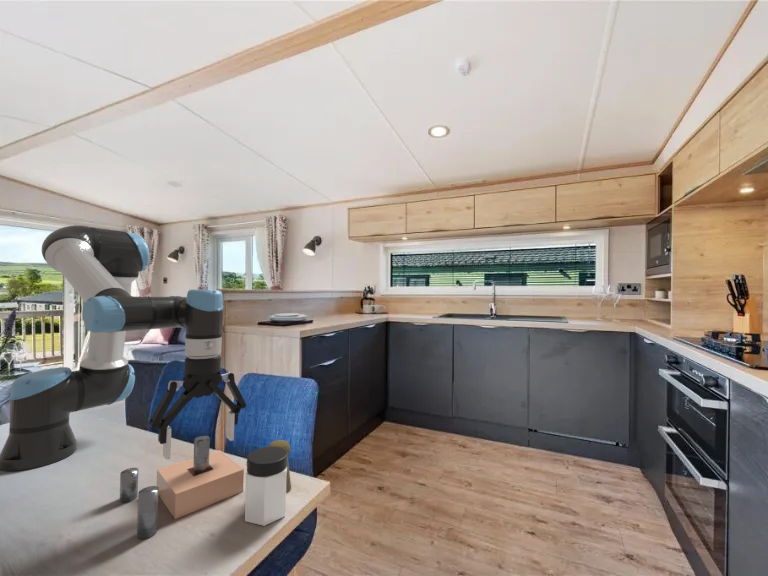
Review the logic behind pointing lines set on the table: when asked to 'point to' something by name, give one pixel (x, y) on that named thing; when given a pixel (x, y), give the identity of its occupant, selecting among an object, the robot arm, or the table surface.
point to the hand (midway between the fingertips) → (200, 447)
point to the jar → (266, 485)
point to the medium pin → (147, 512)
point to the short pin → (128, 485)
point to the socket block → (198, 484)
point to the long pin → (201, 455)
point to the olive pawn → (286, 446)
